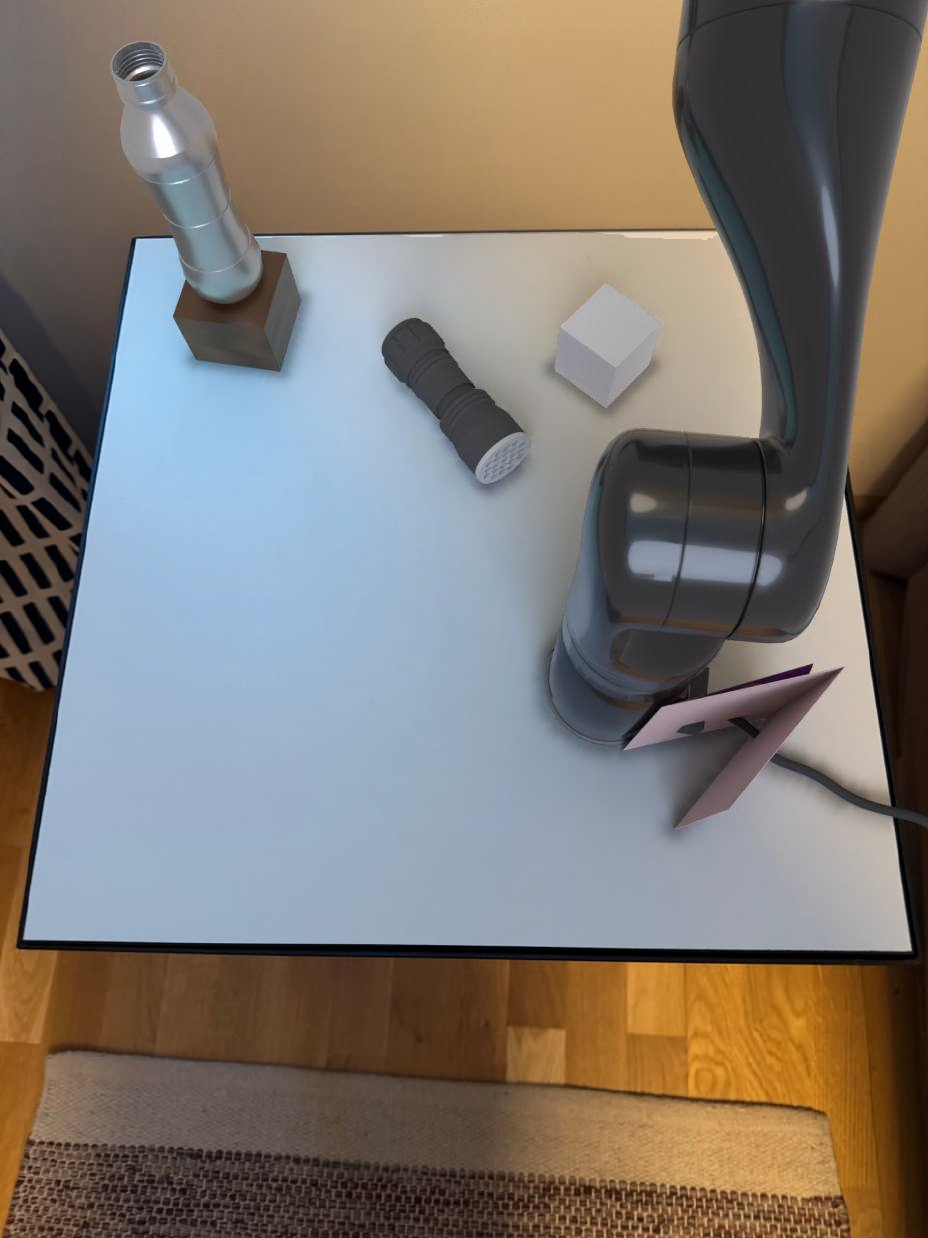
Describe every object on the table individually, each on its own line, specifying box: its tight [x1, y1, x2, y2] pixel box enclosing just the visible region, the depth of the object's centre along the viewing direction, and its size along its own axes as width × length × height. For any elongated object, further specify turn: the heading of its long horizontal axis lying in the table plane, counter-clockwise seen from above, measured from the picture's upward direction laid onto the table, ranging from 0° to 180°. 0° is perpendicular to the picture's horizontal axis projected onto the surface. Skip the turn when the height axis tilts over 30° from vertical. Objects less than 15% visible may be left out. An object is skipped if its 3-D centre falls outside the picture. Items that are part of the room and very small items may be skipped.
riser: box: [172, 249, 302, 372], centre depth 74 cm, size 8×8×6 cm
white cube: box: [554, 282, 663, 409], centre depth 72 cm, size 6×6×6 cm
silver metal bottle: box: [109, 40, 263, 304], centre depth 62 cm, size 6×7×20 cm
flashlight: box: [380, 317, 532, 485], centre depth 71 cm, size 15×5×5 cm, turn 36°
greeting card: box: [622, 662, 846, 831], centre depth 56 cm, size 11×7×15 cm, turn 102°
